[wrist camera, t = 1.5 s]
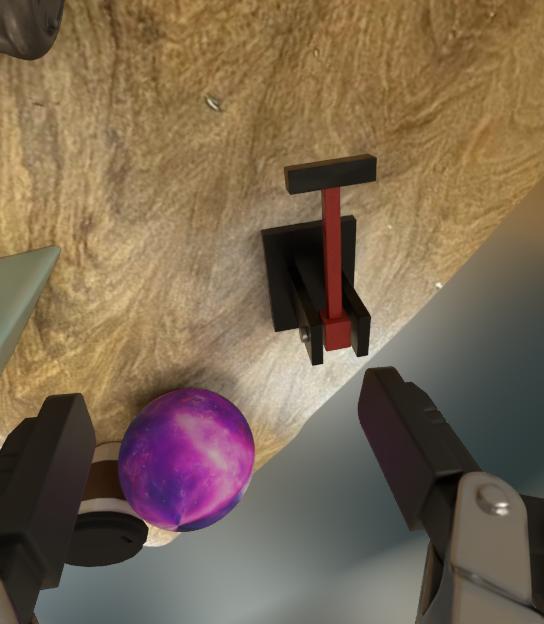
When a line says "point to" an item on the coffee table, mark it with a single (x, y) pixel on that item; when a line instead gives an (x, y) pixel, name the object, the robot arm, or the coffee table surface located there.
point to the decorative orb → (186, 460)
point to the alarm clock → (29, 27)
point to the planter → (21, 293)
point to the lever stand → (311, 283)
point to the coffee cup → (105, 516)
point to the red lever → (332, 230)
